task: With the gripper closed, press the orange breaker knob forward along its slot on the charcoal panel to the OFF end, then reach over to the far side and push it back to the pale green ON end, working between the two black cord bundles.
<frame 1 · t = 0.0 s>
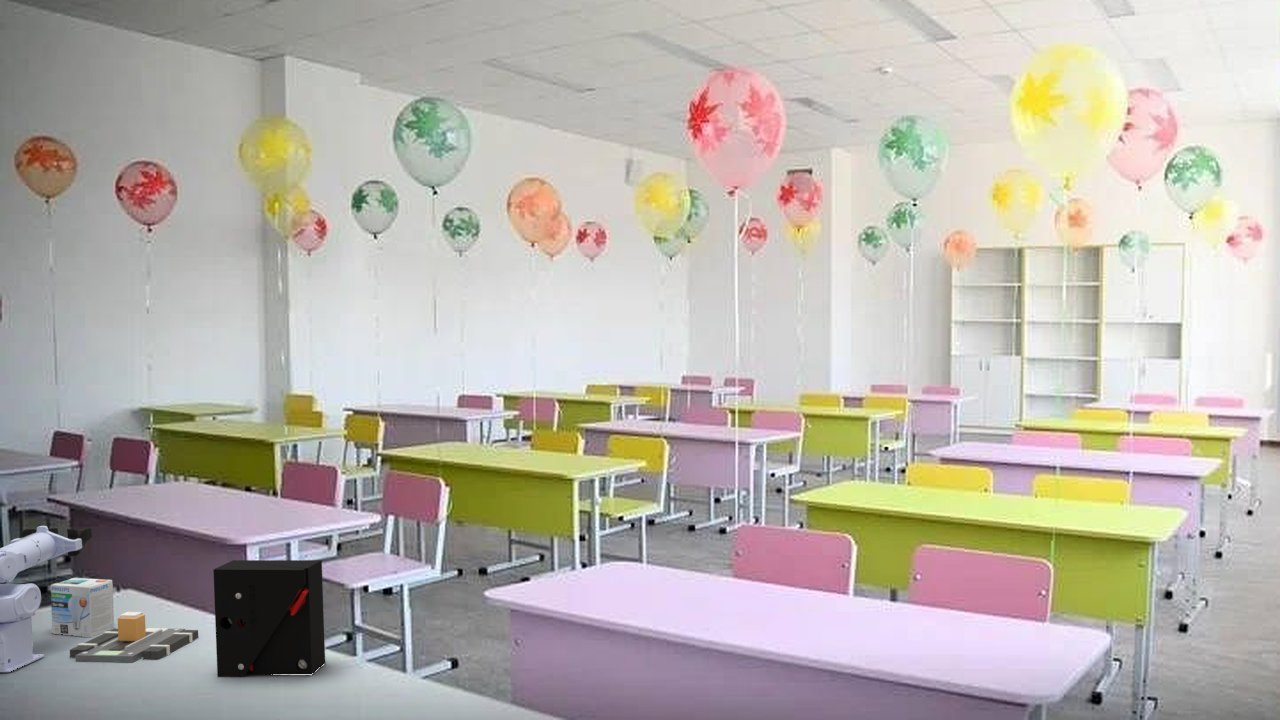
hand: (73, 532, 218), 22 cm above the table, tool horizontal, fingers open, 7 cm apart
electrical component: (274, 670, 193), on the table
breaker knob: (131, 626, 209), point 4 cm above the table, slide at 0.0 cm
breaker panel: (132, 647, 209), on the table
cord bundle far: (171, 648, 208), on the table
cord bundle near: (100, 646, 210), on the table
light bulb box: (83, 632, 221), on the table
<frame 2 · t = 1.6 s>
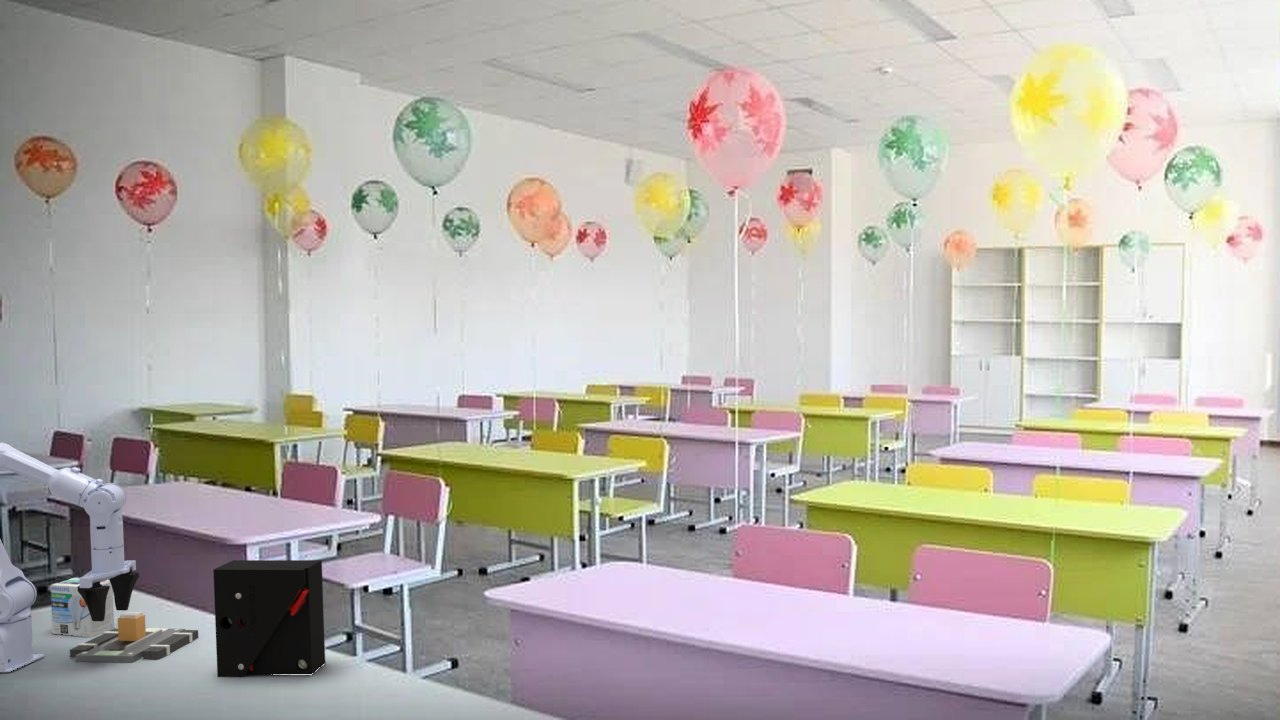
hand: (110, 615, 202), 8 cm above the table, tool pointing down, fingers open, 7 cm apart
nothing on the table moved.
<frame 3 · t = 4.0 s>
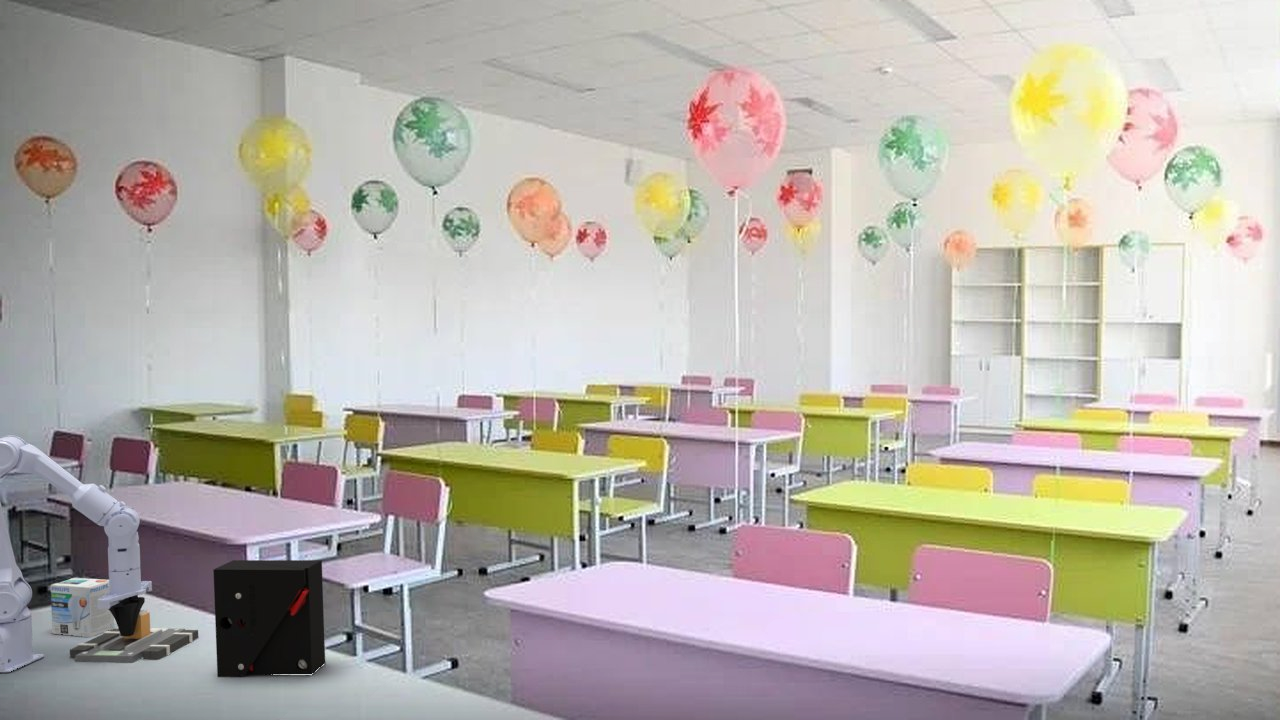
hand: (127, 635, 207), 3 cm above the table, tool pointing down, fingers closed
breaker knob: (136, 623, 210), point 4 cm above the table, slide at 1.6 cm, touching gripper
everything else where it was.
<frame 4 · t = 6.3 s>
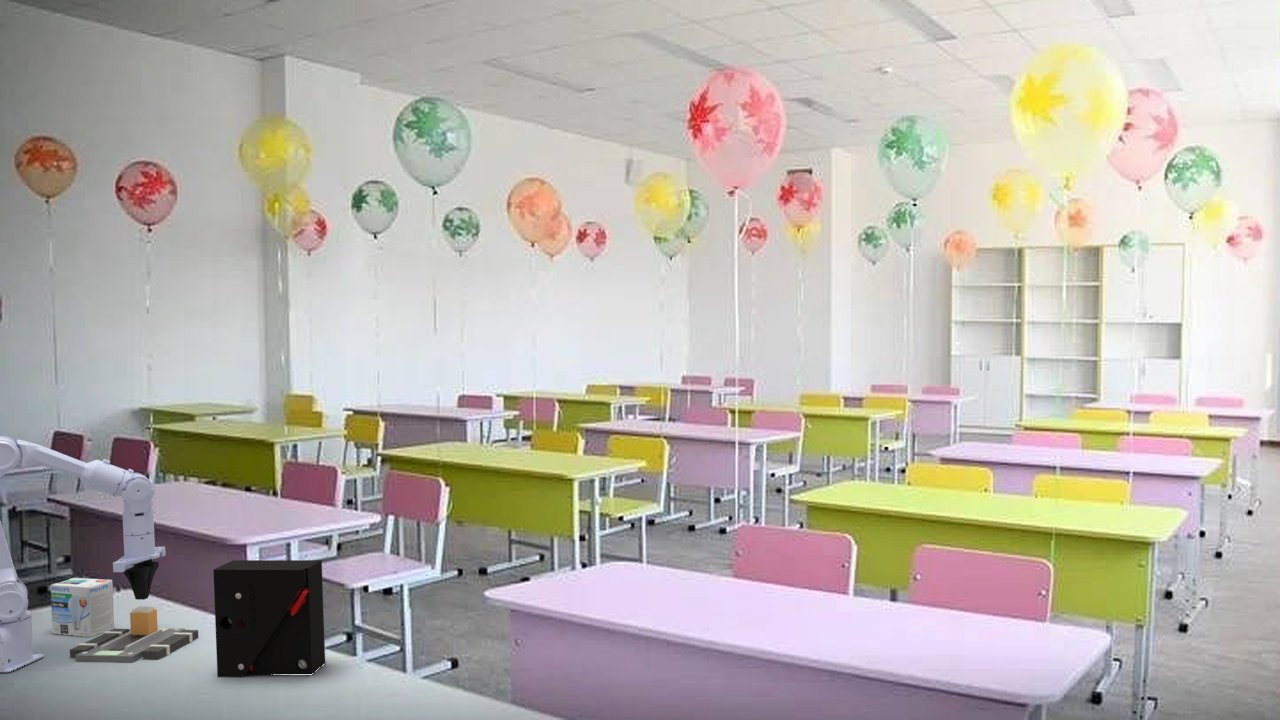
hand: (141, 598, 212), 9 cm above the table, tool pointing down, fingers closed
breaker knob: (143, 620, 213), point 4 cm above the table, slide at 4.0 cm
everything else where it was.
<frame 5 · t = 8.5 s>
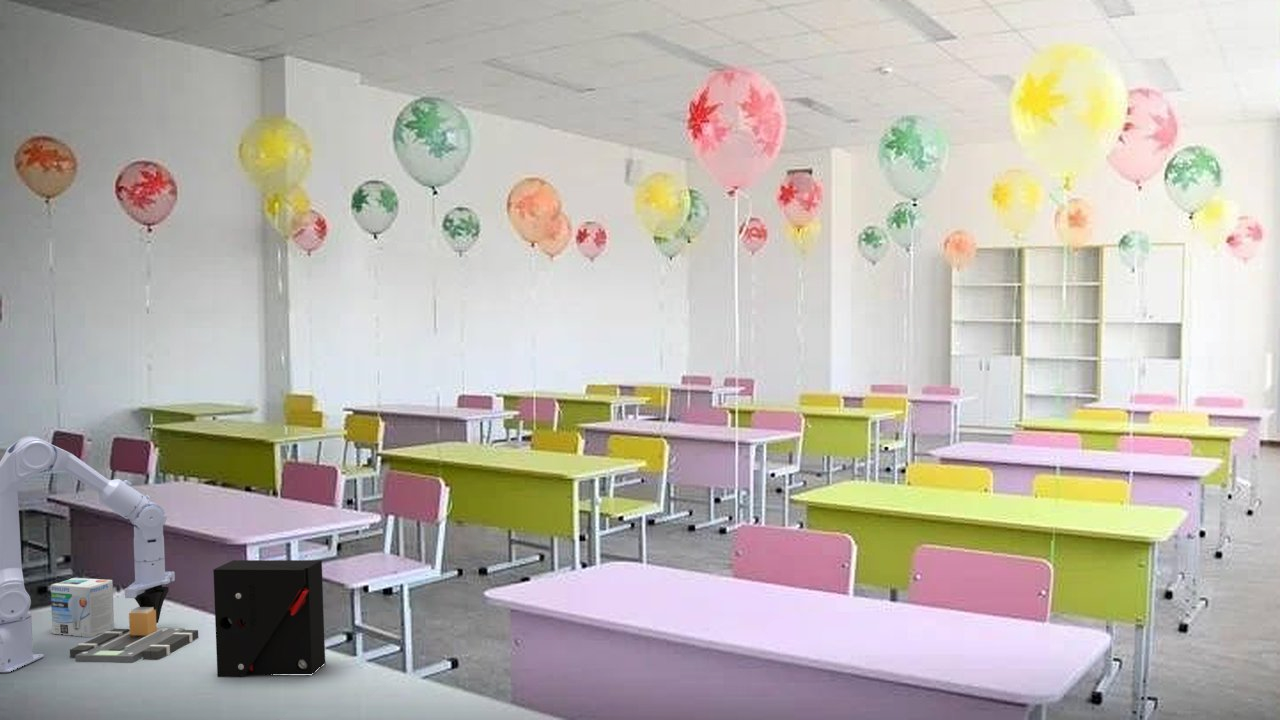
hand: (152, 623, 215), 3 cm above the table, tool pointing down, fingers closed
breaker knob: (142, 620, 212), point 4 cm above the table, slide at 3.7 cm, touching gripper
everything else where it was.
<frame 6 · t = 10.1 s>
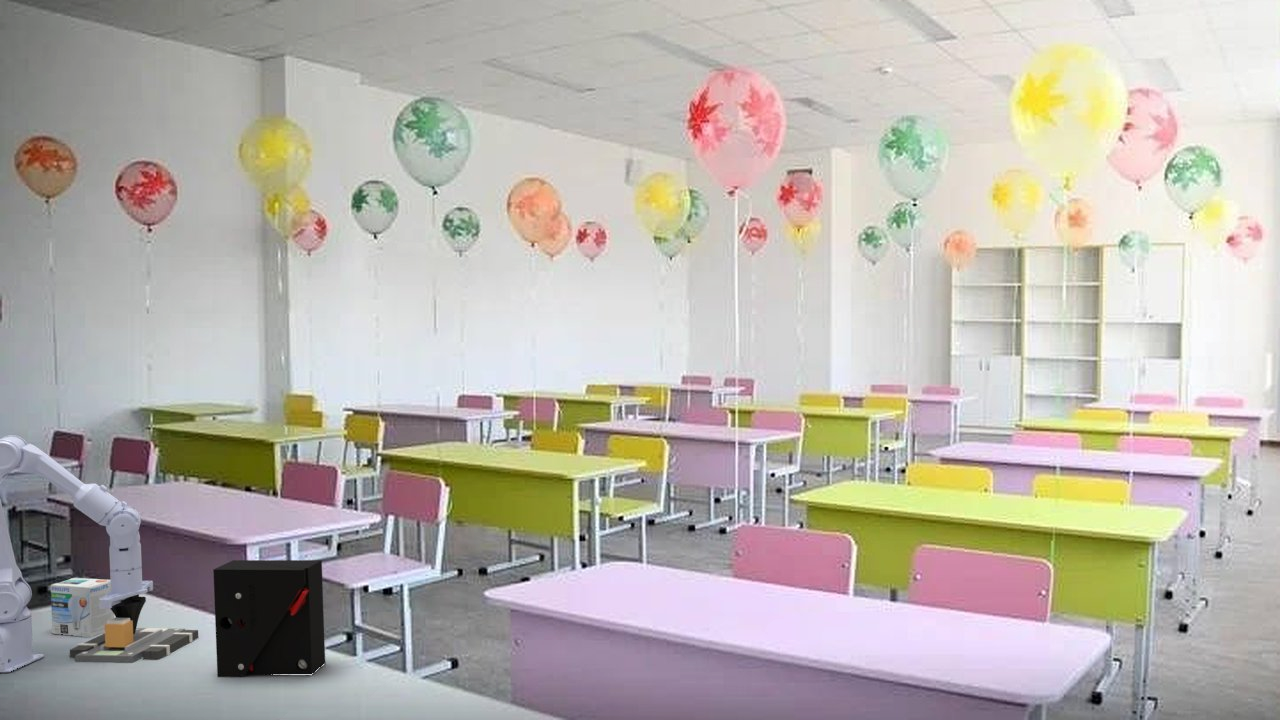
hand: (128, 634, 208), 3 cm above the table, tool pointing down, fingers closed
breaker knob: (119, 632, 205), point 4 cm above the table, slide at -4.1 cm, touching gripper
everything else where it was.
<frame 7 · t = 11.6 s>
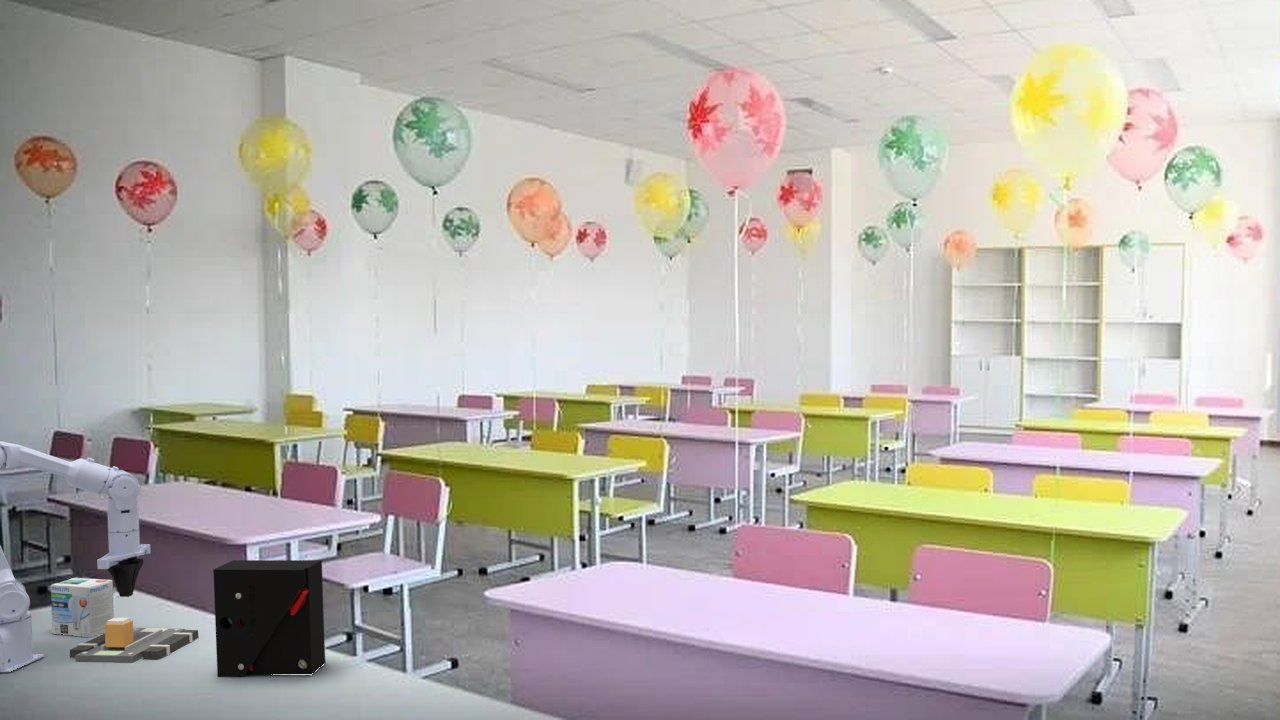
hand: (126, 596, 212), 10 cm above the table, tool pointing down, fingers closed
breaker knob: (119, 632, 205), point 4 cm above the table, slide at -4.0 cm
everything else where it was.
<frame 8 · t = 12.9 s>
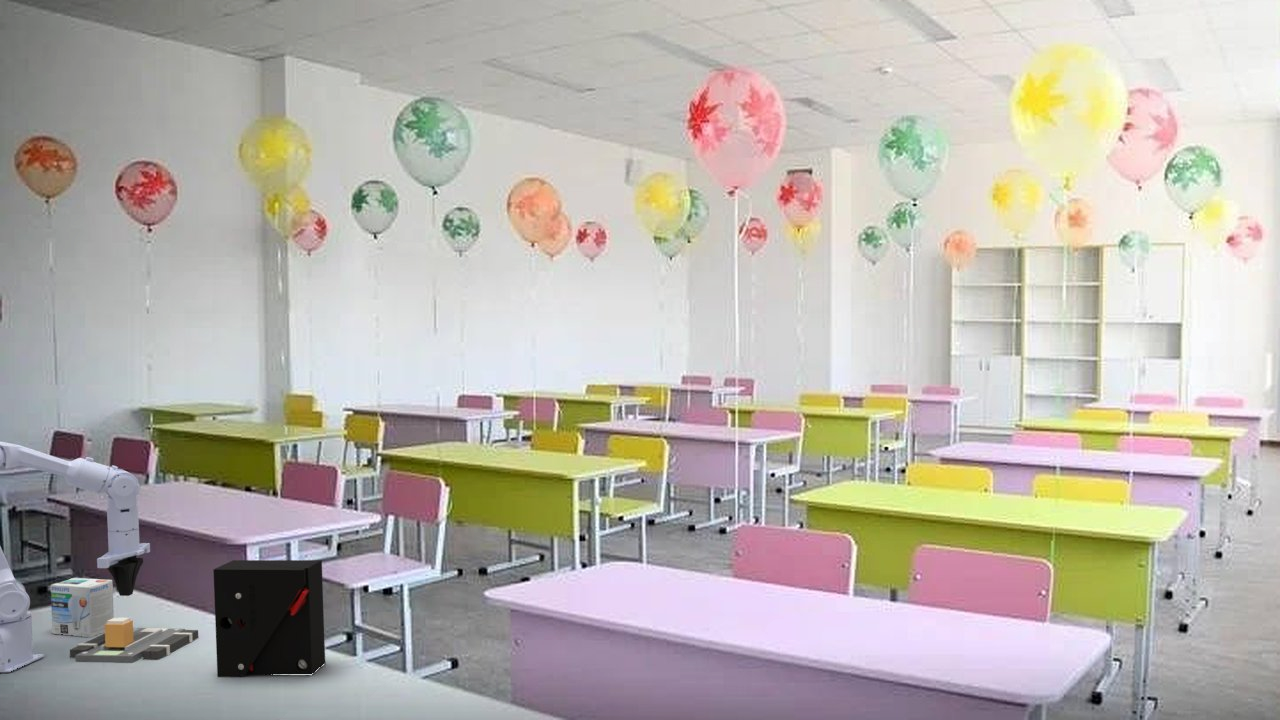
hand: (126, 594, 212), 10 cm above the table, tool pointing down, fingers closed
nothing on the table moved.
at the end: breaker knob slide at -4.0 cm; the gripper is holding nothing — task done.
